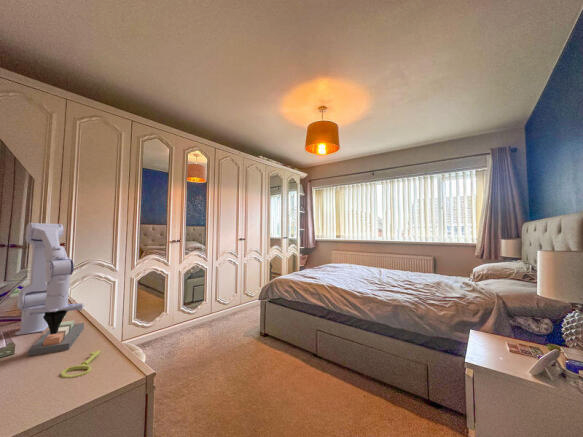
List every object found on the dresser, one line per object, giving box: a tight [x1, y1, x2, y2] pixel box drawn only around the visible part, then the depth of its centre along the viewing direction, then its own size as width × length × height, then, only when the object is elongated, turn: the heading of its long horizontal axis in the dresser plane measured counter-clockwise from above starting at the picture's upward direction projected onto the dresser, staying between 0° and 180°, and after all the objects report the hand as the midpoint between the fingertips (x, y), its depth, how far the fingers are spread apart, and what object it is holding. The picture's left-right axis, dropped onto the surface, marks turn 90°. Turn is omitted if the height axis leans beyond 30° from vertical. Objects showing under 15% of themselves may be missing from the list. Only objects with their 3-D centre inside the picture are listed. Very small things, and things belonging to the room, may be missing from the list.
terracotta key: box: [43, 333, 63, 346], centre depth 83 cm, size 4×4×2 cm
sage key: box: [59, 320, 75, 330], centre depth 94 cm, size 4×4×2 cm
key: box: [60, 349, 101, 379], centre depth 73 cm, size 7×12×2 cm, turn 26°
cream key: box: [51, 326, 69, 336], centre depth 88 cm, size 4×4×2 cm
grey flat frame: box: [27, 322, 85, 357], centre depth 88 cm, size 20×10×2 cm, turn 30°
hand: (54, 333), depth 83 cm, fingers closed
